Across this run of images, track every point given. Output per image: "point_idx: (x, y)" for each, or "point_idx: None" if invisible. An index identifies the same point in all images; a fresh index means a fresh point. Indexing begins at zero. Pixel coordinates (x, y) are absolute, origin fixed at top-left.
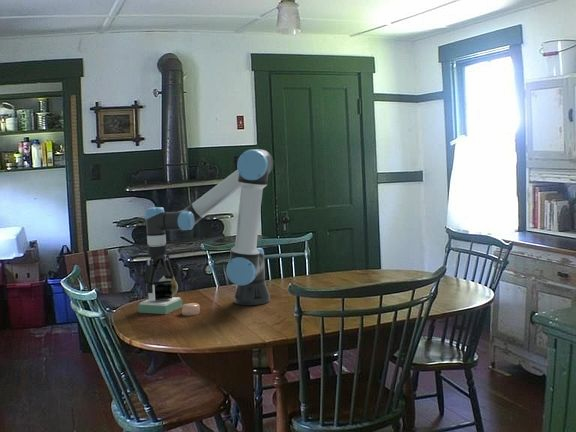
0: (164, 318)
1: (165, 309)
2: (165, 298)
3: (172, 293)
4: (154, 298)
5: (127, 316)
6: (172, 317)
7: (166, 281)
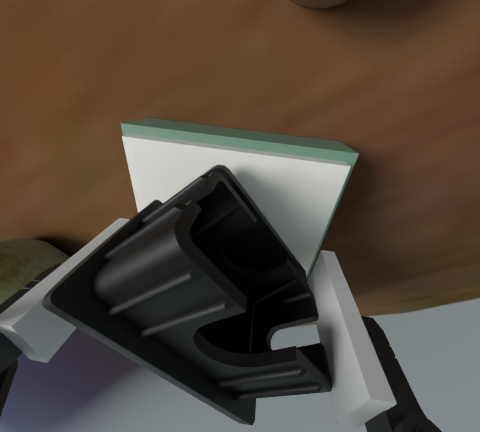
0: (474, 95)
1: (349, 149)
2: (255, 206)
3: (32, 247)
4: (336, 263)
5: (356, 291)
6: (464, 35)
7: (109, 326)
